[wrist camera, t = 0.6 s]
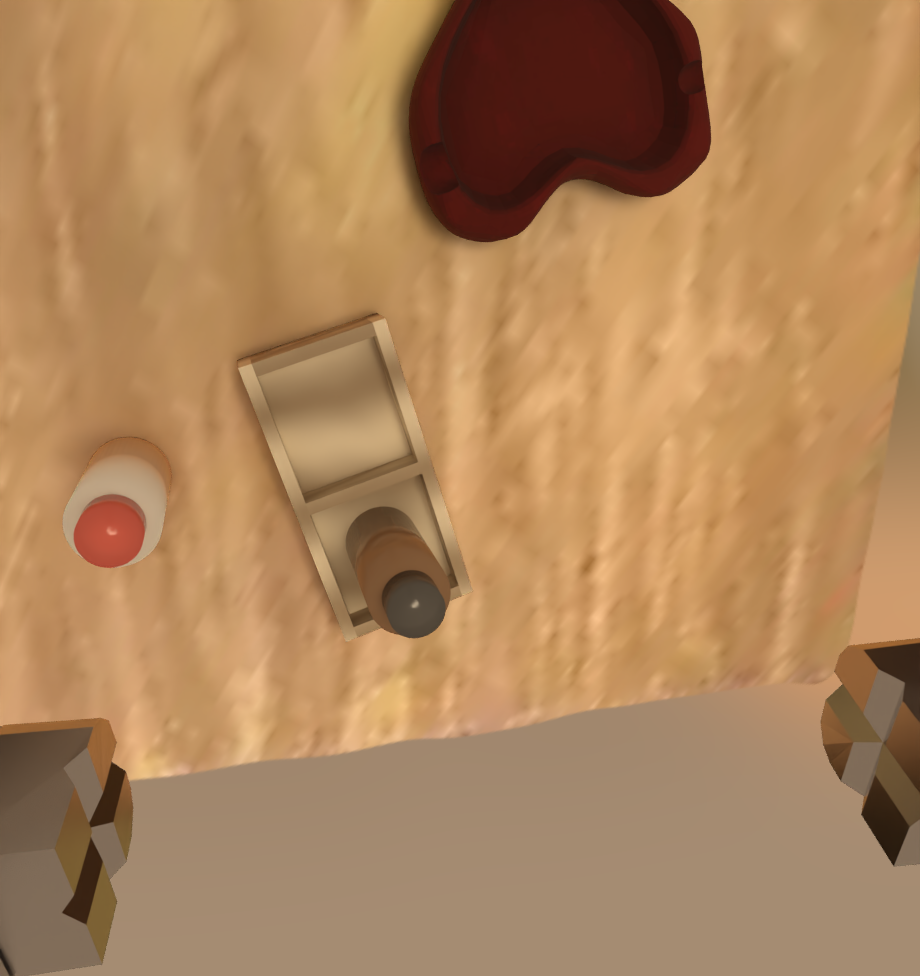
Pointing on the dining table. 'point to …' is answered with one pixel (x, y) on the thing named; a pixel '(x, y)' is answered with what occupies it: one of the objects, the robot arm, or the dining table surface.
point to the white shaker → (119, 503)
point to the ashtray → (554, 107)
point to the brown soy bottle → (397, 573)
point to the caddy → (349, 451)
